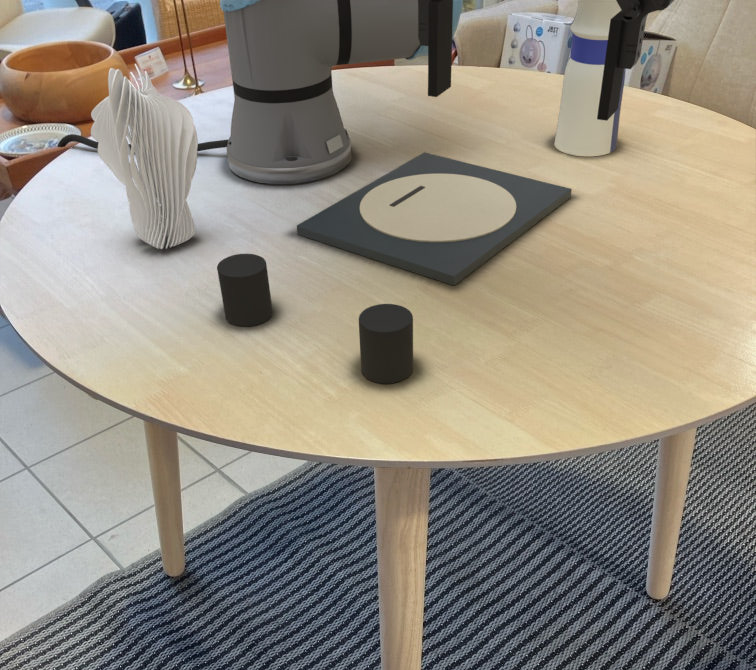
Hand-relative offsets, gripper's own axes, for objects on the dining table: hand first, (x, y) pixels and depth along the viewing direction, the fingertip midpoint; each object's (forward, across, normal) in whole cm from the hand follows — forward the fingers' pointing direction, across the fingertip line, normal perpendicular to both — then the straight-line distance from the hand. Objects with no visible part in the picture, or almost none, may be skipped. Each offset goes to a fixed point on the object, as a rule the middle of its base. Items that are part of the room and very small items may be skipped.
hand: (520, 103), depth 65 cm
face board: (+18, -14, +17) cm, 29 cm away
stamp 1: (+18, -22, -10) cm, 30 cm away
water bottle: (+18, -6, +43) cm, 47 cm away
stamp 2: (+19, -6, -12) cm, 23 cm away
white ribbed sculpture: (+19, -38, -1) cm, 43 cm away
